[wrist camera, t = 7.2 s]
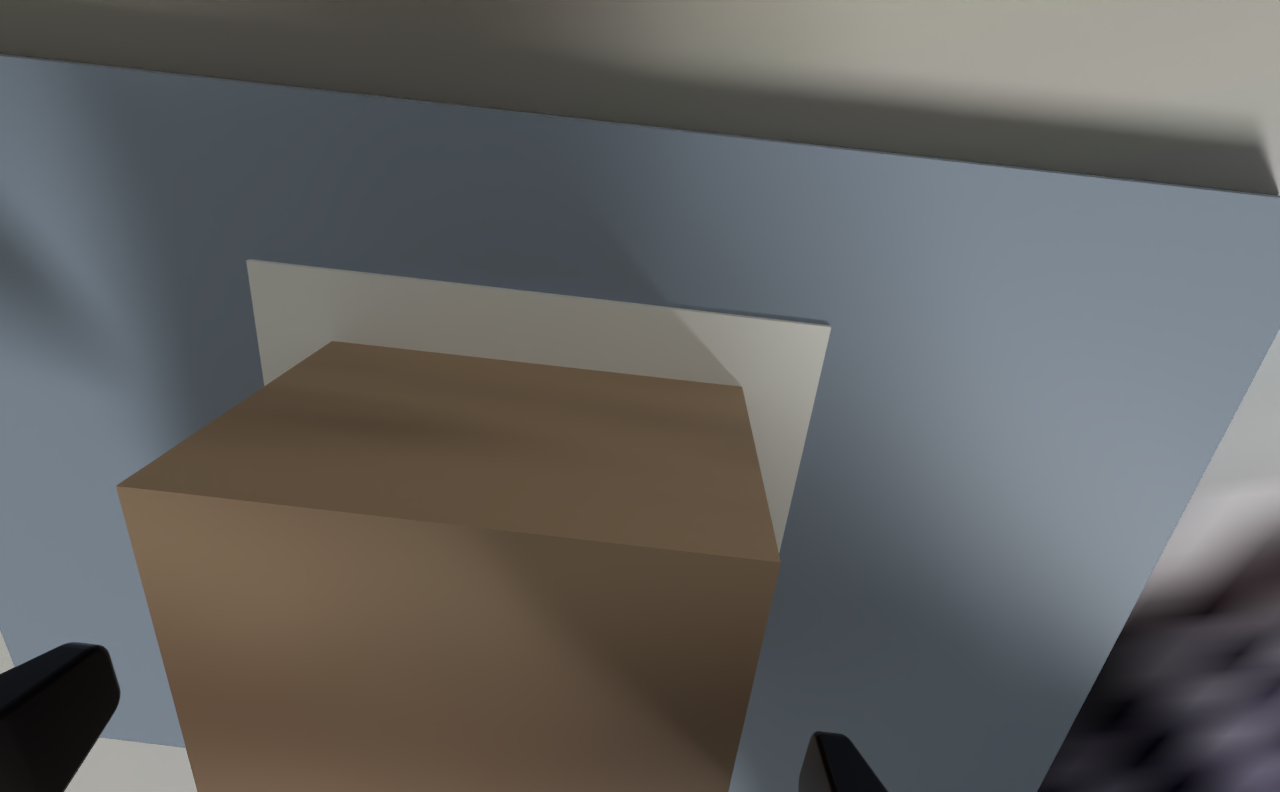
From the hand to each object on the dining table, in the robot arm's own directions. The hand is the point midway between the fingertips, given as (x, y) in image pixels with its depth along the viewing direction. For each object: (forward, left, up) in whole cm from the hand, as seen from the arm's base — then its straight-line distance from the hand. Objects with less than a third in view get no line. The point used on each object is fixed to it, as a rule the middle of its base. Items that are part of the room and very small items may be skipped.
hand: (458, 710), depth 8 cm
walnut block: (0, 0, -4) cm, 4 cm away
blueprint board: (0, 0, -5) cm, 5 cm away
